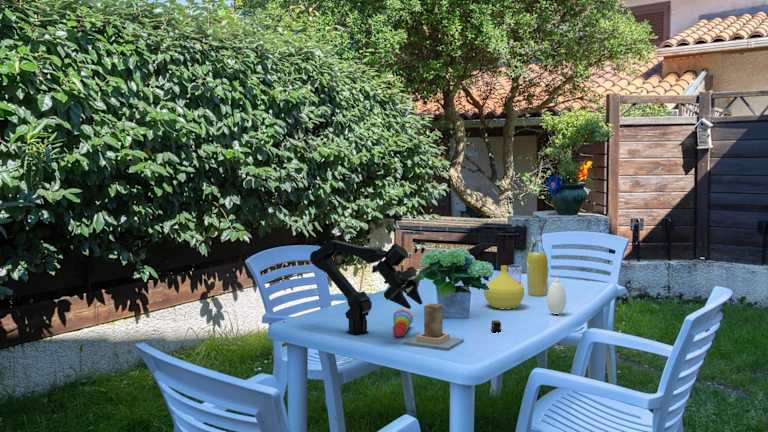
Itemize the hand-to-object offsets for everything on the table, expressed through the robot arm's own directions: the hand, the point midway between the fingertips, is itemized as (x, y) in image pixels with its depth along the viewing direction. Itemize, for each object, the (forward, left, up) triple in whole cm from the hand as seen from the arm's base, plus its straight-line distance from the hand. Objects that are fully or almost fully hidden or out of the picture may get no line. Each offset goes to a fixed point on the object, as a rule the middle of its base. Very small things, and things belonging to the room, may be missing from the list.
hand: (416, 306), depth 249 cm
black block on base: (+34, -8, -14) cm, 37 cm away
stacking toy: (+10, +20, -9) cm, 25 cm away
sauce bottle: (+76, -4, -13) cm, 77 cm away
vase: (+70, +21, -13) cm, 74 cm away
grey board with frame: (+3, -7, -13) cm, 15 cm away
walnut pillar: (+3, -7, -12) cm, 14 cm away
